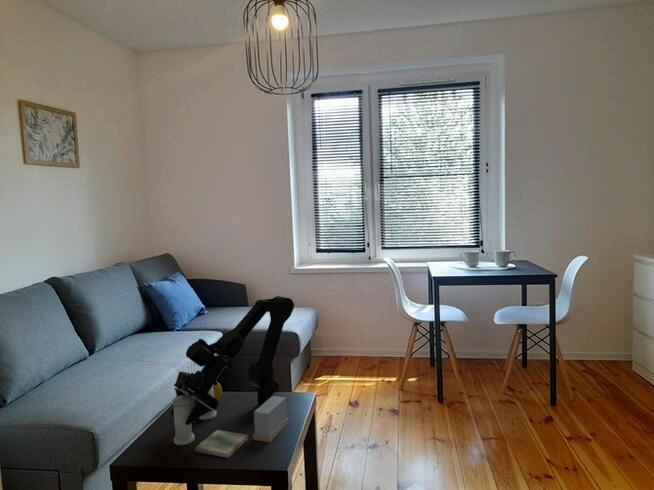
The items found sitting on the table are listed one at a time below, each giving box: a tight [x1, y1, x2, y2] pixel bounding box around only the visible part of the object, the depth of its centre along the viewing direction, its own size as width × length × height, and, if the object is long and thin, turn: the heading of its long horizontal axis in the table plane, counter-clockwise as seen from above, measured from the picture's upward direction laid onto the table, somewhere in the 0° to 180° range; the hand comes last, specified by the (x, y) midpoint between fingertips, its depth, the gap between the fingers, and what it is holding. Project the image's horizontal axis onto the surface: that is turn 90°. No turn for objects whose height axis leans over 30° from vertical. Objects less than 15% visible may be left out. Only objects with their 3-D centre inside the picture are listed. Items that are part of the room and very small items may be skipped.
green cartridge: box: [172, 395, 195, 446], centre depth 138 cm, size 6×6×13 cm
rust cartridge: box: [198, 386, 218, 421], centre depth 154 cm, size 6×6×13 cm
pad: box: [194, 429, 249, 459], centre depth 135 cm, size 11×11×1 cm
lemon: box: [213, 381, 223, 401], centre depth 165 cm, size 6×6×8 cm
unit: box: [252, 395, 290, 443], centre depth 142 cm, size 13×6×8 cm, turn 159°
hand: (178, 419), depth 138 cm, fingers open, 9 cm apart
